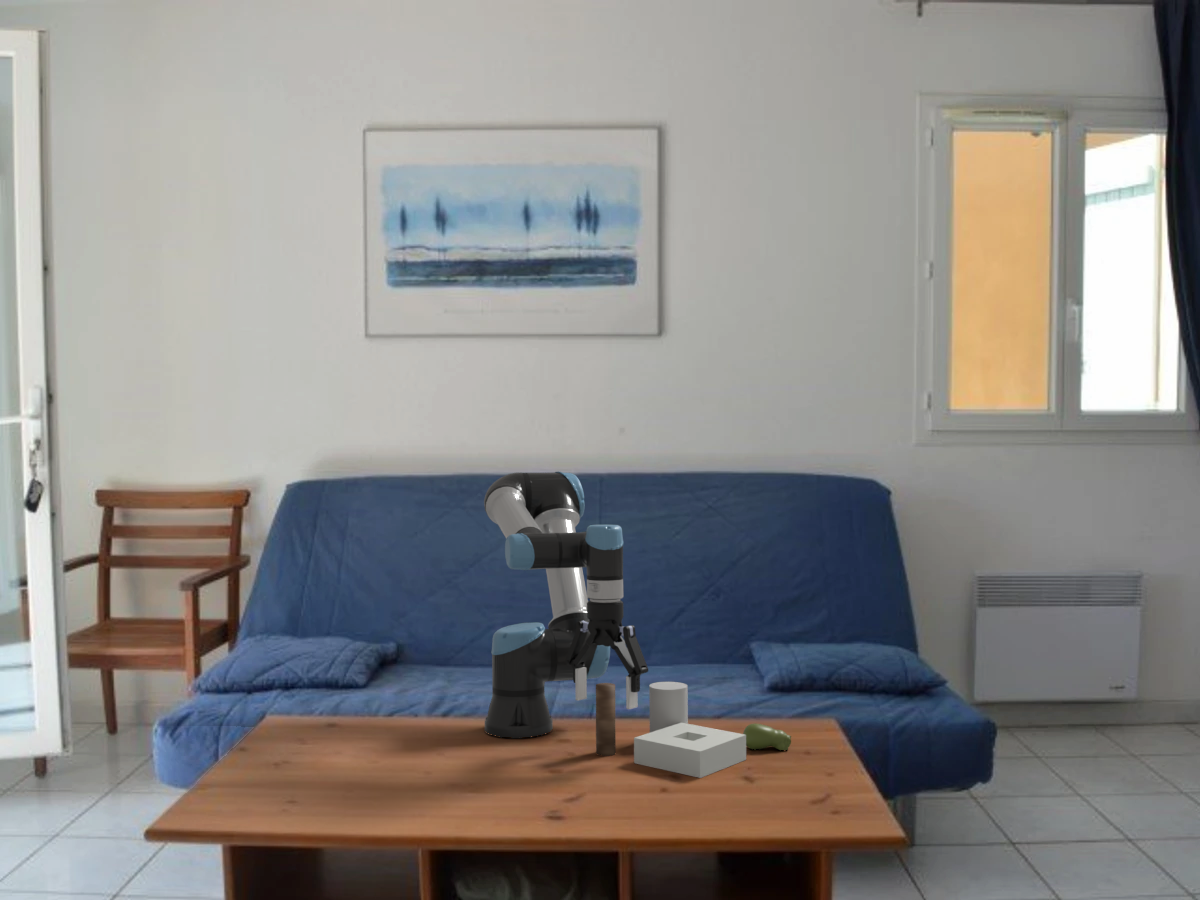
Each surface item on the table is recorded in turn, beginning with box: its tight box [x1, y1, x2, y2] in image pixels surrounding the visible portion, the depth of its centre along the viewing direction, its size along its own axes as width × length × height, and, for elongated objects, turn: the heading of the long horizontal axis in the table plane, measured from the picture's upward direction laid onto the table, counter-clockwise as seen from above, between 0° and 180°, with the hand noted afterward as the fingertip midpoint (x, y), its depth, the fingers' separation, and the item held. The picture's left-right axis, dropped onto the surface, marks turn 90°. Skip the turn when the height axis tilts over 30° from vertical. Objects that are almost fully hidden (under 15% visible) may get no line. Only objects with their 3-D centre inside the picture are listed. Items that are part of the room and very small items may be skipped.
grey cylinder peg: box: [648, 681, 689, 733], centre depth 233 cm, size 8×8×12 cm
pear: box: [742, 723, 792, 751], centre depth 227 cm, size 6×5×10 cm
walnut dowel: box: [595, 682, 617, 757], centre depth 224 cm, size 4×4×14 cm
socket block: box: [633, 723, 747, 779], centre depth 218 cm, size 16×16×5 cm
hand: (606, 703), depth 224 cm, fingers open, 13 cm apart
